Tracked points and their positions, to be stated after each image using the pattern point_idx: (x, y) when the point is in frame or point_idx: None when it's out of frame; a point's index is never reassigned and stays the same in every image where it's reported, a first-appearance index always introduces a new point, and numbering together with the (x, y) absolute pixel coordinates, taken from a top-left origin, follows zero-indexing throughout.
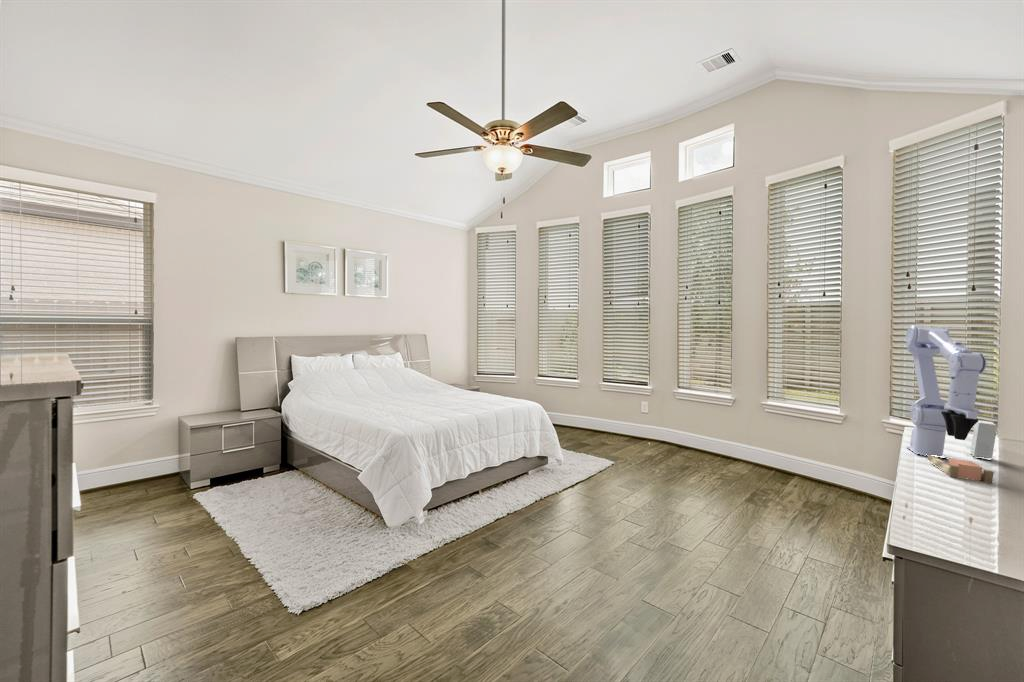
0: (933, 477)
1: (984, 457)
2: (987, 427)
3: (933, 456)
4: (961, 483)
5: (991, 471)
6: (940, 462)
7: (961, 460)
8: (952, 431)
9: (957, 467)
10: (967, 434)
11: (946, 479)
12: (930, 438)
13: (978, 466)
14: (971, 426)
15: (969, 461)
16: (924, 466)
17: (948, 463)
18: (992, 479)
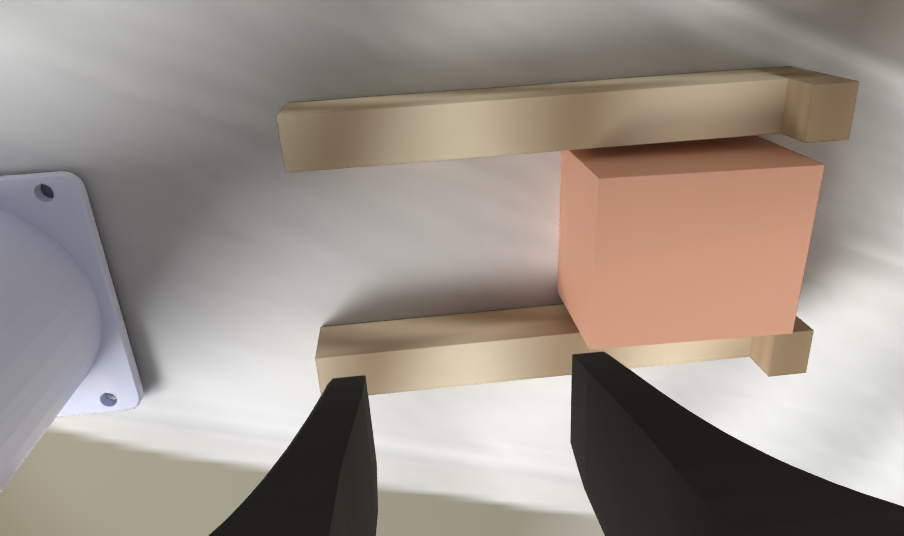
0: (827, 425)
1: None
2: None
3: (350, 370)
4: (893, 297)
5: (835, 91)
6: (565, 367)
7: (626, 269)
8: (370, 481)
9: (807, 333)
10: (661, 394)
11: (836, 362)
12: (17, 443)
13: (793, 187)
14: (801, 488)
15: (618, 204)
16: (540, 417)
17: (577, 322)
18: (810, 71)
